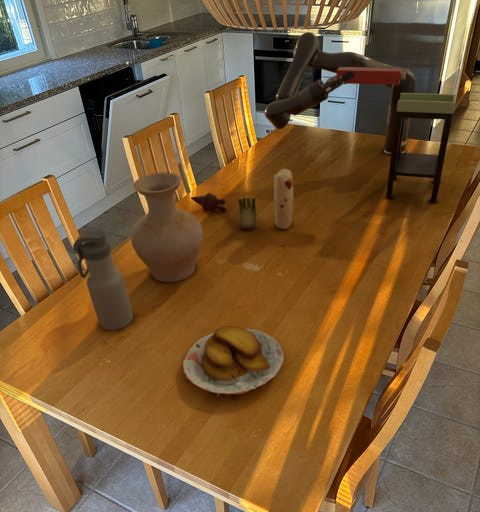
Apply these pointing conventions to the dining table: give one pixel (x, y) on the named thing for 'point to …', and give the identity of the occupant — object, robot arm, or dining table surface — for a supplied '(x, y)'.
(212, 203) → the icecream
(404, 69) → the robot arm
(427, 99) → the olive green shallow box
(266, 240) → the dining table surface
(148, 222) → the vase
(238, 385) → the food on plate
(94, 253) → the water bottle
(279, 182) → the food model
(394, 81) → the red bar
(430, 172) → the stand
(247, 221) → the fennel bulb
